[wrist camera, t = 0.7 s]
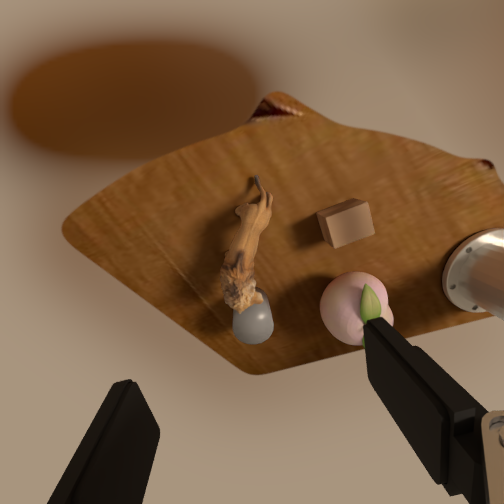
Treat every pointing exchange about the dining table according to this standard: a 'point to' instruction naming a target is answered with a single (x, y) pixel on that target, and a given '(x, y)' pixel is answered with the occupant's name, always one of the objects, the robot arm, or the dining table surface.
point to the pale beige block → (346, 222)
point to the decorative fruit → (353, 305)
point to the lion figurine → (245, 253)
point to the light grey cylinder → (254, 322)
